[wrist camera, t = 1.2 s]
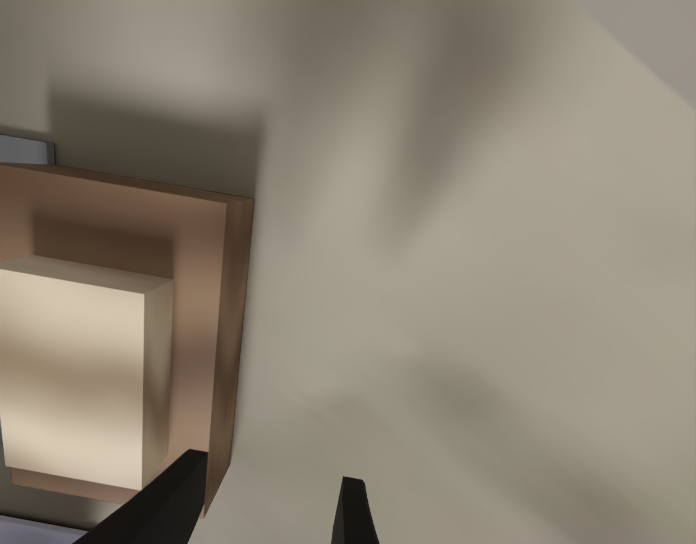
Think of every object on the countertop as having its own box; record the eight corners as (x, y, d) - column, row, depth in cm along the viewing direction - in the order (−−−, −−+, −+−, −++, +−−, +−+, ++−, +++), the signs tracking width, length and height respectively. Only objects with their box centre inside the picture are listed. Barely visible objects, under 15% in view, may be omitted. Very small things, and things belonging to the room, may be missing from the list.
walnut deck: (229, 465, 21) (203, 518, 18) (68, 436, 21) (12, 483, 18) (254, 199, 17) (226, 203, 14) (54, 164, 17) (-22, 161, 14)
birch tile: (167, 455, 17) (141, 490, 15) (46, 433, 17) (5, 465, 15) (173, 279, 15) (144, 294, 13) (34, 255, 15) (-17, 266, 13)
